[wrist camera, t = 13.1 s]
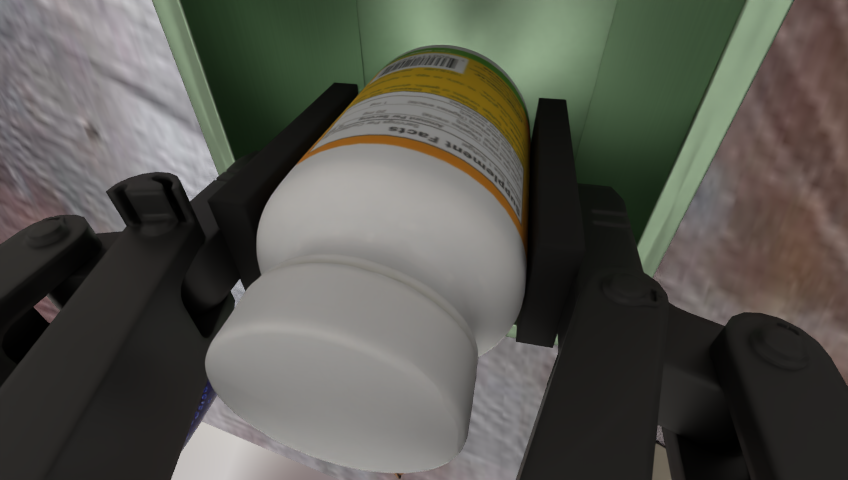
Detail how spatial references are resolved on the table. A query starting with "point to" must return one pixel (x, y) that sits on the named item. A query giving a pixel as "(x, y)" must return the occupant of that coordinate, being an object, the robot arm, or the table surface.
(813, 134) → the table surface
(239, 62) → the bin
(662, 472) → the travel mug
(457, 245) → the supplement bottle
